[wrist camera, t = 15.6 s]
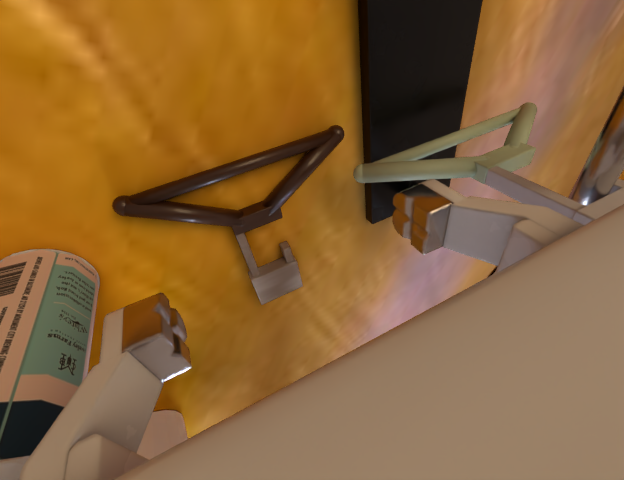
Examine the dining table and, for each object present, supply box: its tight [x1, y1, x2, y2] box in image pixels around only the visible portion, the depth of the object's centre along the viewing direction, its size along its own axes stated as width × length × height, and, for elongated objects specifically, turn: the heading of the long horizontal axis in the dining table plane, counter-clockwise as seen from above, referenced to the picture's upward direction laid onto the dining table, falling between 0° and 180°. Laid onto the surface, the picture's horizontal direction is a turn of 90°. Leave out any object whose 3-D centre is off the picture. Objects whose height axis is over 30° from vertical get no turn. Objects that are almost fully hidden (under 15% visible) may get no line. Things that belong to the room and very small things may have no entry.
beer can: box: [0, 249, 100, 480], centre depth 13 cm, size 5×5×12 cm
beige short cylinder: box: [137, 410, 188, 460], centre depth 27 cm, size 7×7×7 cm
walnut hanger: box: [112, 125, 344, 305], centre depth 22 cm, size 14×1×12 cm
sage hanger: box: [353, 103, 624, 225], centre depth 15 cm, size 14×1×12 cm, turn 98°
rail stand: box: [358, 0, 624, 224], centre depth 16 cm, size 8×18×13 cm, turn 8°
